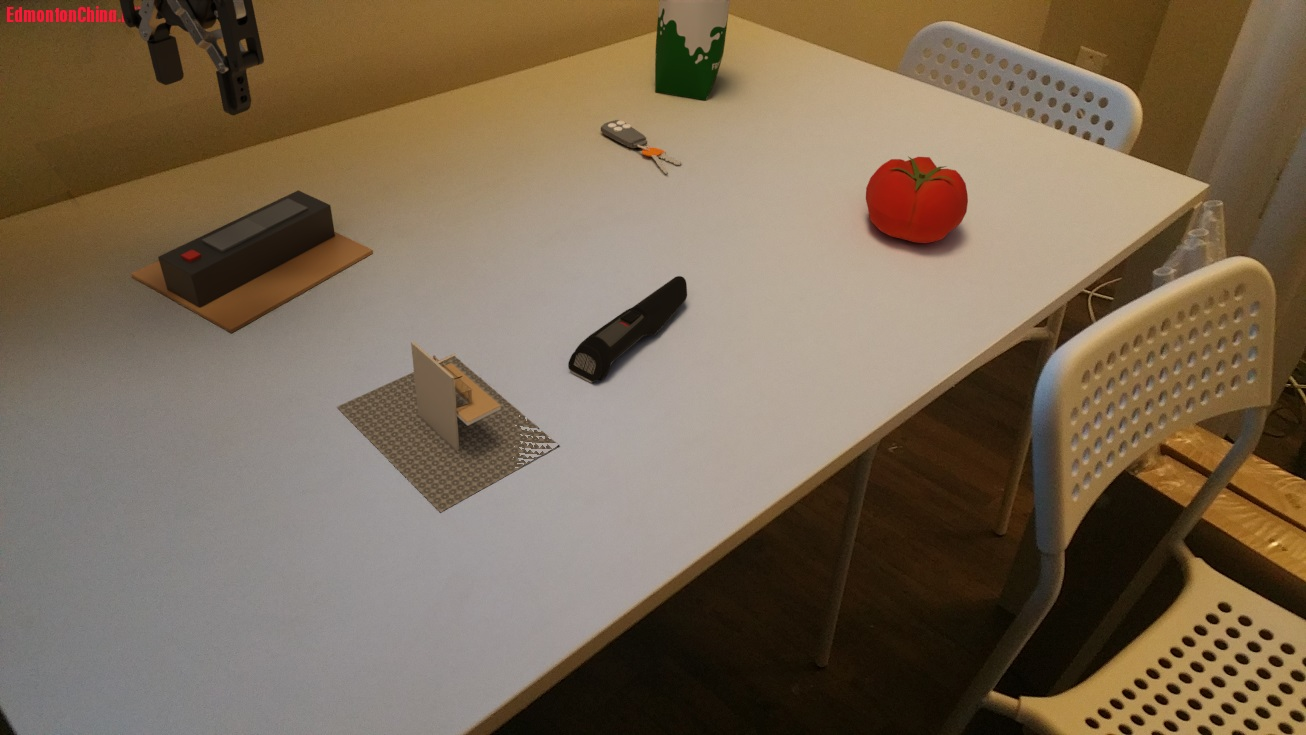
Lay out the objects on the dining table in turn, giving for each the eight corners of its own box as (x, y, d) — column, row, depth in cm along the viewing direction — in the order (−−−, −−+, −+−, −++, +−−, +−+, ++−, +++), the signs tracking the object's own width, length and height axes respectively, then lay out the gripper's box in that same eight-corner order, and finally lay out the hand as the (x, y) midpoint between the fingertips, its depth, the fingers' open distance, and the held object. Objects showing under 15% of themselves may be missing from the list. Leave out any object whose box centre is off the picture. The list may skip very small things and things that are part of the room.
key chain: (596, 134, 123) (597, 123, 122) (619, 127, 125) (620, 116, 124) (665, 176, 115) (666, 164, 114) (688, 167, 117) (690, 156, 116)
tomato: (972, 229, 111) (991, 169, 106) (927, 266, 104) (945, 204, 99) (888, 194, 116) (903, 136, 111) (840, 228, 109) (854, 167, 104)
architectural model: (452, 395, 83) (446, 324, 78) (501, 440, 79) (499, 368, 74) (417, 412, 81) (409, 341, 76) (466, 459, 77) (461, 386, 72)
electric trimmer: (696, 309, 95) (699, 282, 93) (598, 387, 85) (600, 358, 83) (664, 294, 97) (666, 267, 95) (564, 369, 86) (565, 340, 84)
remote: (199, 308, 89) (190, 272, 86) (167, 289, 91) (156, 253, 88) (335, 236, 100) (330, 202, 97) (303, 220, 101) (297, 187, 99)
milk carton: (661, 69, 140) (673, -80, 127) (723, 80, 139) (742, -70, 126) (646, 93, 133) (658, -62, 120) (712, 104, 132) (730, -51, 119)
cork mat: (131, 277, 92) (130, 273, 92) (277, 207, 104) (276, 203, 104) (231, 333, 87) (230, 329, 87) (373, 253, 98) (372, 249, 98)
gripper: (55, -121, 74) (111, 85, 84) (180, -78, 68) (223, 137, 79) (144, -136, 79) (187, 60, 89) (267, -96, 74) (297, 107, 84)
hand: (204, 96), depth 84 cm, fingers open, 8 cm apart
